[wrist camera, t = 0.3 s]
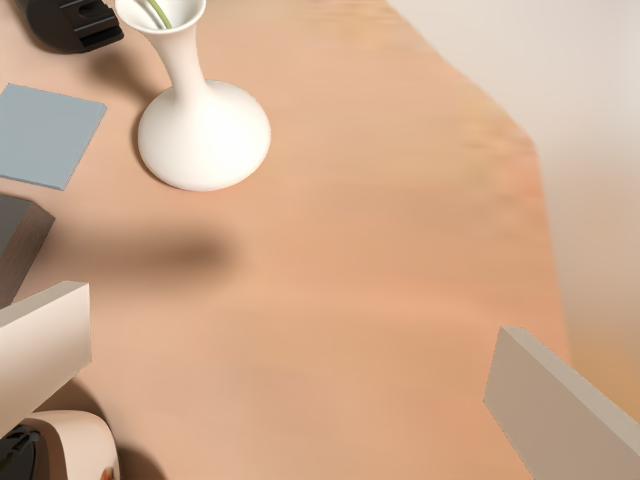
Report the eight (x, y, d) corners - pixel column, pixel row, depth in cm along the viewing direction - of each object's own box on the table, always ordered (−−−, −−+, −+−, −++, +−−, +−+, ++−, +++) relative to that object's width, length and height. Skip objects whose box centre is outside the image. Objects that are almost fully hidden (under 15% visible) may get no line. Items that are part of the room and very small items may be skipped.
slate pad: (63, 190, 31) (59, 187, 30) (-41, 168, 31) (-47, 164, 30) (107, 108, 34) (104, 103, 33) (13, 88, 34) (8, 83, 33)
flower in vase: (287, 115, 35) (286, -391, 12) (246, 216, 31) (123, -262, 8) (161, 78, 36) (-76, -482, 12) (104, 173, 32) (-414, -404, 8)
